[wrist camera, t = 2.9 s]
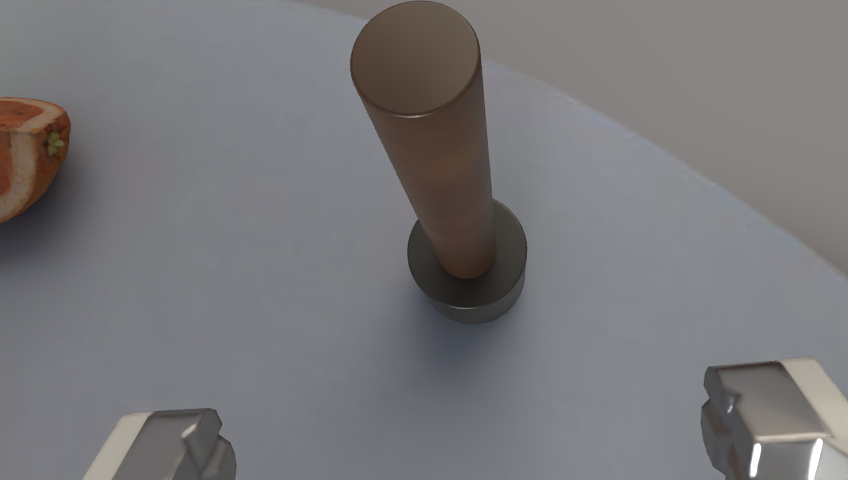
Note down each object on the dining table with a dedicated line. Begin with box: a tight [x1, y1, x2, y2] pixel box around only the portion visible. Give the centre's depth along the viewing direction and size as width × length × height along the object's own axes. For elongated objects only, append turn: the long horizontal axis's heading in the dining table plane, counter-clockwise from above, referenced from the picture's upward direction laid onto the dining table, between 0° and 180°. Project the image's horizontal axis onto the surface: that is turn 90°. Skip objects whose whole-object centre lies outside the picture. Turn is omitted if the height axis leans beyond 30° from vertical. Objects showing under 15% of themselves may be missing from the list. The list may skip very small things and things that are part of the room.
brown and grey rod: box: [350, 1, 527, 324], centre depth 18 cm, size 4×4×17 cm
